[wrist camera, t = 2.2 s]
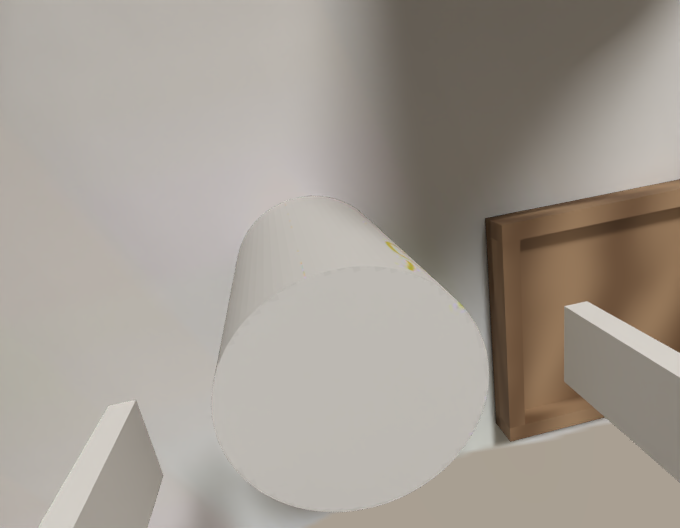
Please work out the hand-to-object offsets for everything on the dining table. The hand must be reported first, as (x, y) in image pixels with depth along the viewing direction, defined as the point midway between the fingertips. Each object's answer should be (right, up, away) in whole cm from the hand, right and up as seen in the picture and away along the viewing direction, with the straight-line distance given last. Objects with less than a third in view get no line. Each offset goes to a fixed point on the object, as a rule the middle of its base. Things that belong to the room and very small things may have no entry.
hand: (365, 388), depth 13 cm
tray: (+15, +1, +14) cm, 21 cm away
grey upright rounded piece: (-2, +4, +11) cm, 12 cm away
